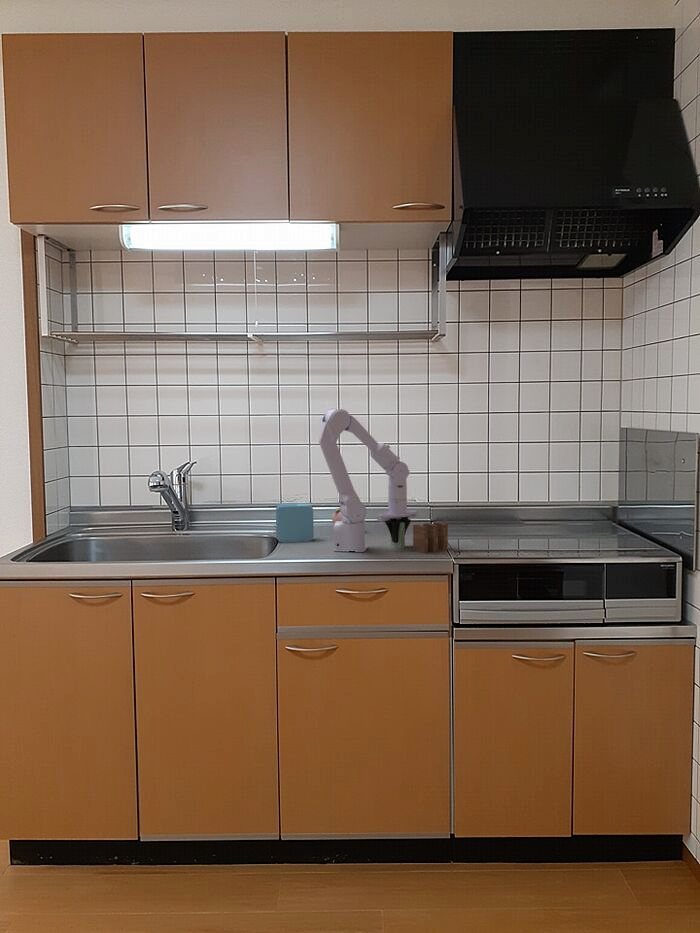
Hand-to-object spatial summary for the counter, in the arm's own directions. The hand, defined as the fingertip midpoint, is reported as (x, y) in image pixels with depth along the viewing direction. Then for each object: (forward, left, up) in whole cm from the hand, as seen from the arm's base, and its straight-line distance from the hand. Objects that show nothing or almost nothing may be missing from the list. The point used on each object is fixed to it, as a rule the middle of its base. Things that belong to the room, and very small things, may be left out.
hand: (397, 541), depth 250 cm
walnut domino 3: (+13, -1, -2) cm, 14 cm away
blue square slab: (-35, +6, -2) cm, 36 cm away
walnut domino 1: (+8, -6, -2) cm, 10 cm away
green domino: (0, 0, -2) cm, 2 cm away
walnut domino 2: (+11, -4, -2) cm, 11 cm away
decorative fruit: (-21, +22, -2) cm, 30 cm away
